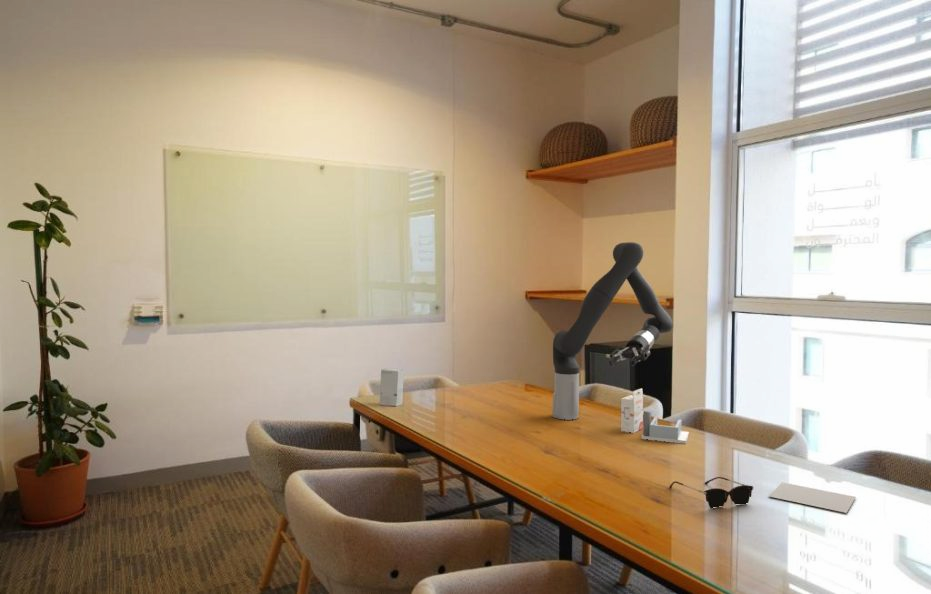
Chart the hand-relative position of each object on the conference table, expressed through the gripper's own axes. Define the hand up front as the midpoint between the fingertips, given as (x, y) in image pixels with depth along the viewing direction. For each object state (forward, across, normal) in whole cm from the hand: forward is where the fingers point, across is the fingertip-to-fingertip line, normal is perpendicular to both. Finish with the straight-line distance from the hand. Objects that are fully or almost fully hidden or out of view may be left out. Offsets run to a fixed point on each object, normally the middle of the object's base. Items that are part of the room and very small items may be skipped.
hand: (620, 363), depth 228 cm
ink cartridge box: (+12, +4, +20) cm, 24 cm away
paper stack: (+36, +74, +19) cm, 84 cm away
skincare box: (+41, -87, -4) cm, 96 cm away
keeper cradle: (+12, +17, +22) cm, 30 cm away
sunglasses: (+56, +52, +8) cm, 77 cm away
